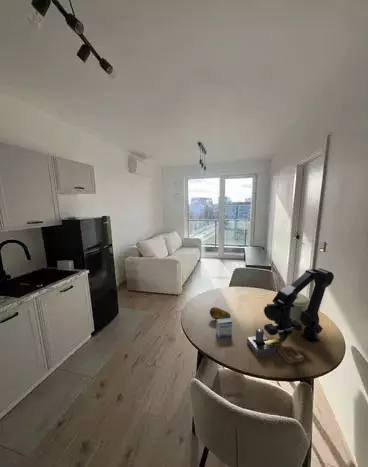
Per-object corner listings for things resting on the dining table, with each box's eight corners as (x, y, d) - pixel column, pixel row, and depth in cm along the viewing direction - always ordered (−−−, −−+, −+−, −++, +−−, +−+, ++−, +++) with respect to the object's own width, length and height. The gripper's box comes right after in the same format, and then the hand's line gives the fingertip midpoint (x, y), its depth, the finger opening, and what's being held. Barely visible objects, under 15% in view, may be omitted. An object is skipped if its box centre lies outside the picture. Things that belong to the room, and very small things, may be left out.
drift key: (277, 343, 113) (278, 336, 113) (281, 347, 110) (282, 340, 110) (262, 345, 111) (262, 339, 111) (266, 349, 108) (266, 343, 108)
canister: (313, 333, 121) (316, 299, 117) (279, 330, 124) (281, 296, 121) (302, 316, 138) (305, 286, 135) (272, 313, 142) (274, 284, 138)
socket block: (263, 340, 115) (264, 334, 115) (275, 353, 106) (275, 347, 105) (247, 343, 113) (247, 337, 113) (257, 356, 104) (257, 350, 103)
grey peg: (260, 345, 111) (261, 327, 110) (264, 350, 108) (265, 331, 106) (253, 346, 111) (254, 328, 109) (257, 351, 107) (258, 332, 105)
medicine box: (218, 337, 118) (219, 323, 117) (216, 332, 122) (216, 319, 121) (232, 335, 120) (232, 321, 118) (228, 331, 124) (229, 317, 123)
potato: (229, 325, 129) (229, 313, 128) (208, 321, 133) (208, 310, 132) (230, 318, 137) (231, 306, 136) (211, 315, 141) (211, 303, 140)
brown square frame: (291, 349, 109) (291, 345, 108) (303, 360, 101) (303, 356, 101) (277, 351, 107) (277, 348, 107) (288, 363, 99) (288, 359, 99)
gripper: (289, 305, 119) (287, 330, 121) (259, 309, 115) (257, 335, 118) (304, 315, 108) (301, 343, 111) (271, 320, 104) (269, 348, 107)
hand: (282, 342), depth 112 cm, fingers closed
